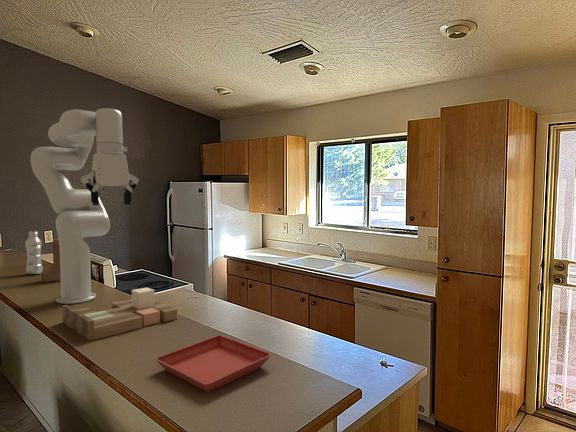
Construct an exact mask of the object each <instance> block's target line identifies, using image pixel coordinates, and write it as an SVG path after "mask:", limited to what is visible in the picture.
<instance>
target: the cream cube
mask: <svg viewBox="0 0 576 432" xmlns="http://www.w3.org/2000/svg"><path fill="white" fill-rule="evenodd" d="M155 291H156V290H155V289H153V288H149V287H141V288H136V289H131V299H132V306H133V307H135V308H138V309H143V308H148V307H152V306H155V301H156V297H155V295H156V294H155Z"/></svg>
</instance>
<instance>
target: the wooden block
mask: <svg viewBox="0 0 576 432" xmlns="http://www.w3.org/2000/svg"><path fill="white" fill-rule="evenodd" d="M40 275H41V277H40V278H41V283H51V282H50V281H55V282H61V275H60V247H59V238H54V239H52V266H50V268H49V269H48V268H47V269H44V270H43V271H42V272H41V273H40Z"/></svg>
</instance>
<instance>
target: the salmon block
mask: <svg viewBox="0 0 576 432" xmlns="http://www.w3.org/2000/svg"><path fill="white" fill-rule="evenodd" d="M136 315H139V316H141V317H142V327H146V326H150V325H154V324H157V323H161V320H160V311H159V310H156V309H154V308H148V309H143V310H139V311H136Z"/></svg>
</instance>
